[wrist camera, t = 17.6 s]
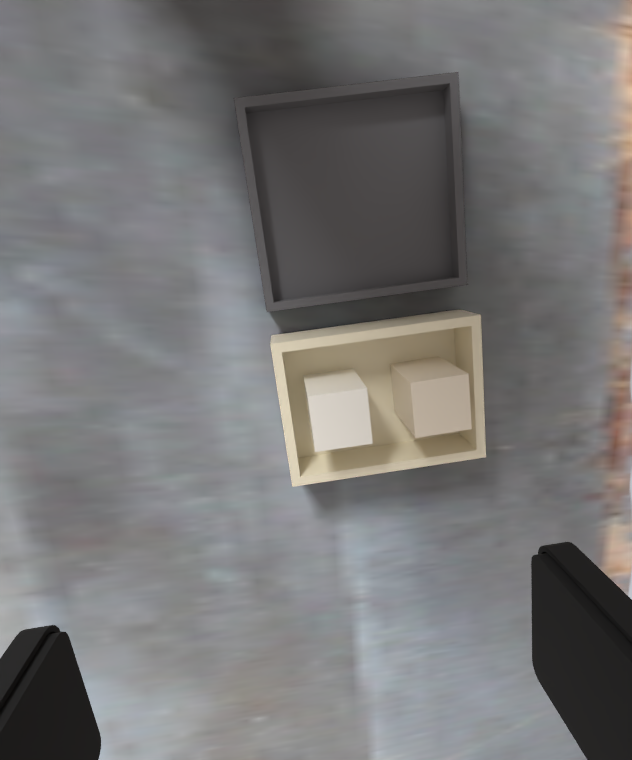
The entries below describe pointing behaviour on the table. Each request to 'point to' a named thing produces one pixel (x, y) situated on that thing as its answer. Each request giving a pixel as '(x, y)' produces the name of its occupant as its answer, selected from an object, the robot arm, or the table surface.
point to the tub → (378, 392)
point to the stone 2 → (431, 396)
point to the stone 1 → (337, 409)
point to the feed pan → (356, 189)
